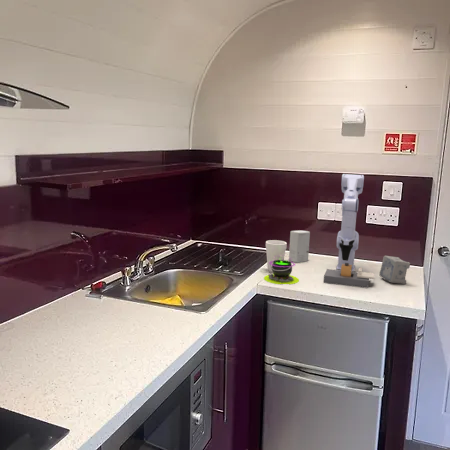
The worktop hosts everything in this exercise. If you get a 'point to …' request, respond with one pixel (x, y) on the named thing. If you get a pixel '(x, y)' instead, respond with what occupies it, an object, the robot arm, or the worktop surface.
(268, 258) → the foam cup
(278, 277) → the toy cauldron
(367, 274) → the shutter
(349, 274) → the orange bottle
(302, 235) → the skincare box
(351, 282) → the socket
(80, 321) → the worktop surface
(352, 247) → the robot arm
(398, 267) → the grey rough block
